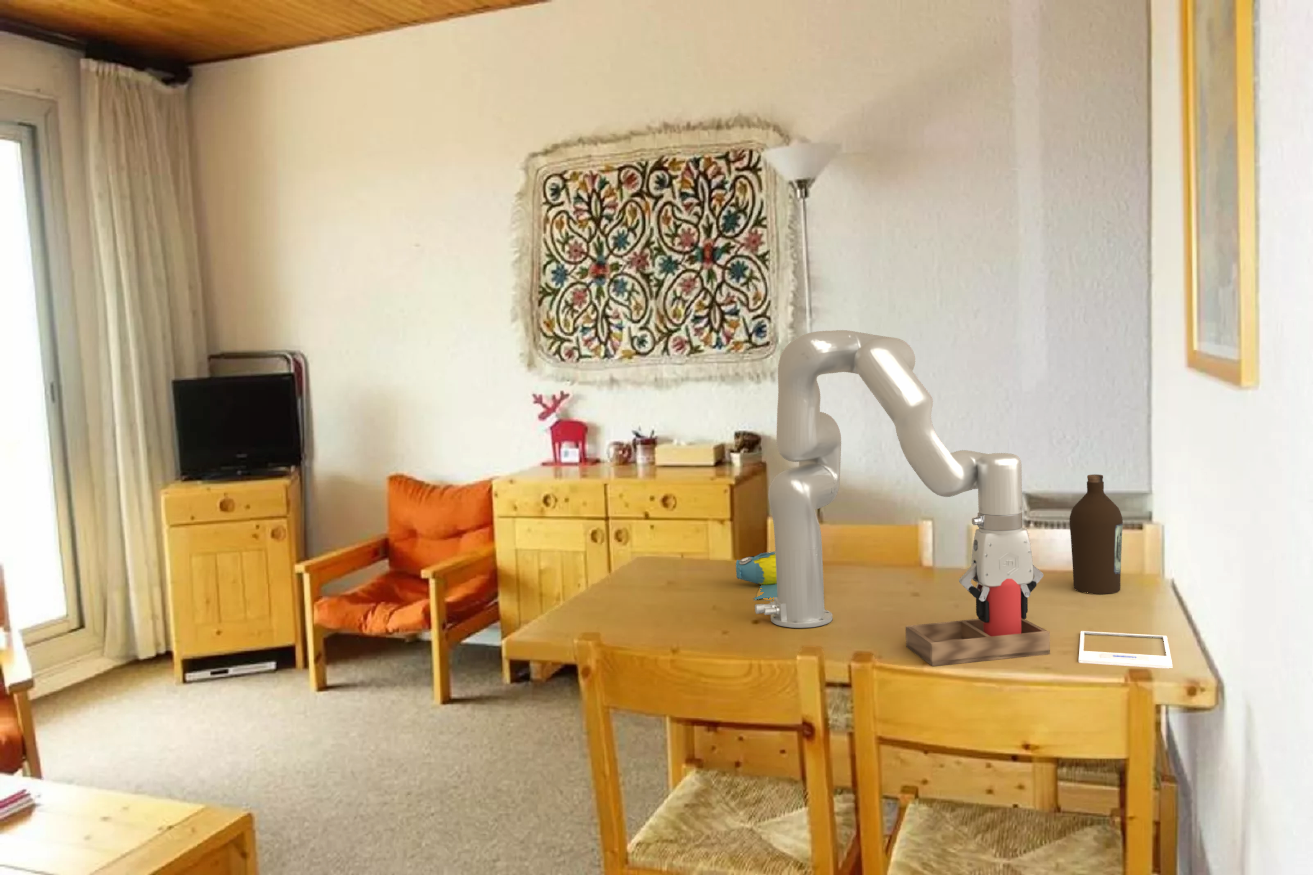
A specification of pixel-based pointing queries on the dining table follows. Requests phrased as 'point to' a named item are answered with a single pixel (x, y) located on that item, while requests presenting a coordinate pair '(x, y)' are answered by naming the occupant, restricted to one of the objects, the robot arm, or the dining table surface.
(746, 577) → the fish figurine
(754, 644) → the dining table surface
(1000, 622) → the beer can
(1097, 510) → the olive oil
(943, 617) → the dining table surface
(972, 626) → the crate
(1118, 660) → the photo frame
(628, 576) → the dining table surface
